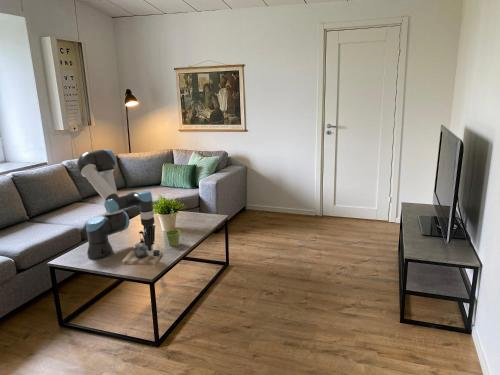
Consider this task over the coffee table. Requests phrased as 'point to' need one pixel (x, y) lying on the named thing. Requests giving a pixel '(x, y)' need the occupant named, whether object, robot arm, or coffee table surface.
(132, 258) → the wooden cutting board
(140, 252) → the saucepan with lid
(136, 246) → the grey joystick
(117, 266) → the coffee table surface
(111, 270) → the coffee table surface
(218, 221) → the coffee table surface
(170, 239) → the plant pot
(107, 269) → the coffee table surface
